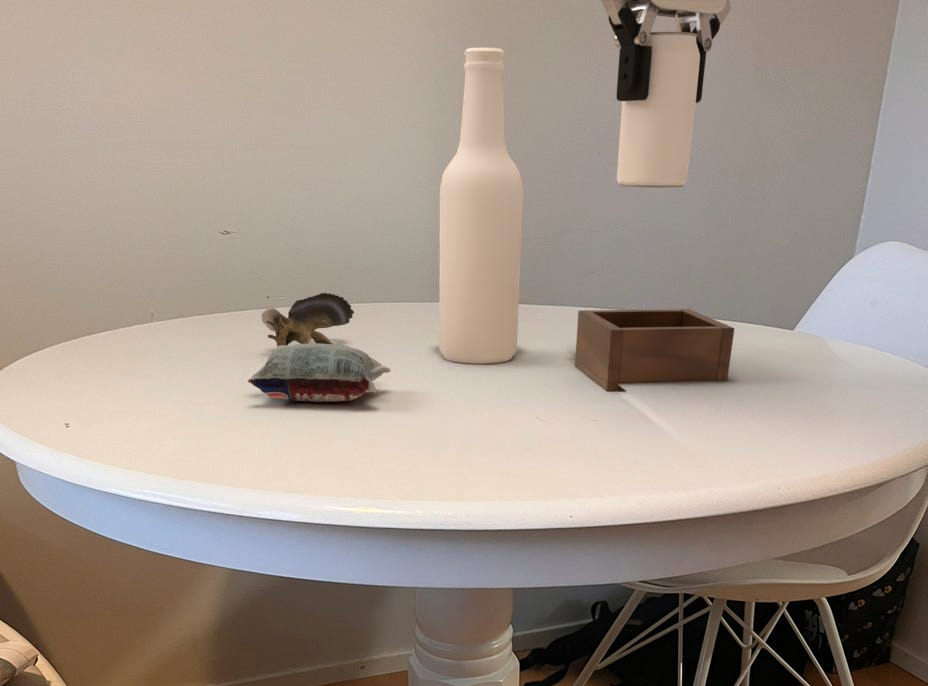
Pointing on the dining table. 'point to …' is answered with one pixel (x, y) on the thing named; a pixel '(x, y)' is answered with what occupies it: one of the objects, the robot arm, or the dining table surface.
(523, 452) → the dining table surface
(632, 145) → the can
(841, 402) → the dining table surface
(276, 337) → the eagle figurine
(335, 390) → the packaged food
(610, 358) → the box
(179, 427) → the dining table surface
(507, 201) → the alcohol
